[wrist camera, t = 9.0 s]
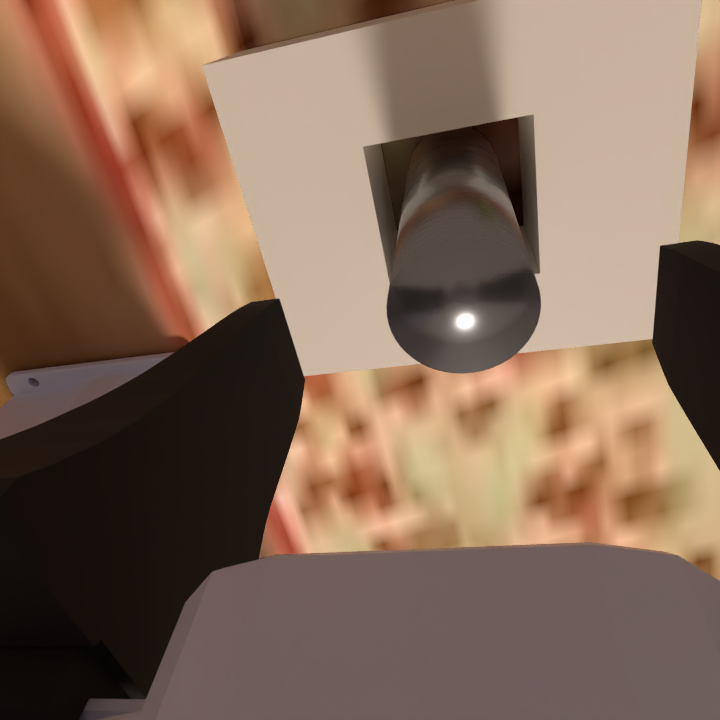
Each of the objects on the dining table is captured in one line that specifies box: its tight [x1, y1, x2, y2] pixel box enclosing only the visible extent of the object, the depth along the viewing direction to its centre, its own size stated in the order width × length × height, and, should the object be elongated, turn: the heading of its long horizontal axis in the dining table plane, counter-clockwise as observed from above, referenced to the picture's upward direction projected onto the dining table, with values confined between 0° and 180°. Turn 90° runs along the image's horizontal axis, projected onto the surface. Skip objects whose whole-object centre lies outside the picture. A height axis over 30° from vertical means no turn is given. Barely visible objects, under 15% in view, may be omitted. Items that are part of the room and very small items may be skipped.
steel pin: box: [386, 127, 541, 373], centre depth 15 cm, size 3×3×10 cm
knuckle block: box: [202, 0, 702, 376], centre depth 18 cm, size 12×10×4 cm
